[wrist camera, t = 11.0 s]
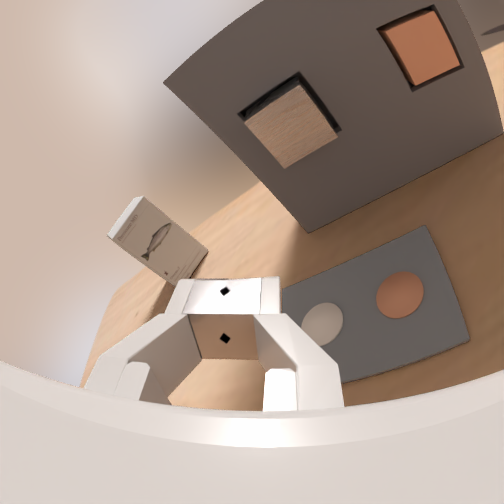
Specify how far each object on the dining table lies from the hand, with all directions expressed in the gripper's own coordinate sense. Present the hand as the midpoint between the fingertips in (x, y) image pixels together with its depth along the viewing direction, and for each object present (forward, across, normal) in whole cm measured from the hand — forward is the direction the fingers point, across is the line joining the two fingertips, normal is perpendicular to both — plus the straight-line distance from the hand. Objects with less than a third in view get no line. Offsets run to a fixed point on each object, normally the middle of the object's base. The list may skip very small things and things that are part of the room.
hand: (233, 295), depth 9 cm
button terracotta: (+16, +15, +9) cm, 24 cm away
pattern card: (+8, +7, -9) cm, 14 cm away
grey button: (+17, +4, +1) cm, 17 cm away
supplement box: (+29, -13, -18) cm, 37 cm away
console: (+21, +14, -1) cm, 25 cm away
